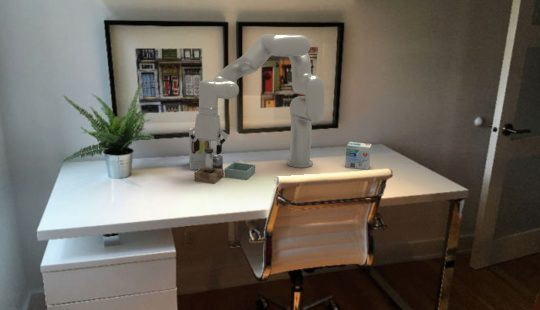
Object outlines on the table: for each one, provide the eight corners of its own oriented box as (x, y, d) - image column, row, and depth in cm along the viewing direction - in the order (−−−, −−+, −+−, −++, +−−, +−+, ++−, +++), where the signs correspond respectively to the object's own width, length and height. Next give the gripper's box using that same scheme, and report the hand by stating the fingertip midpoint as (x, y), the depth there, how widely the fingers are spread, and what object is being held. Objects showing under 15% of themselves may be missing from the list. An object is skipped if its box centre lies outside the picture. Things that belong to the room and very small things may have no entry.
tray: (233, 169, 211) (233, 162, 210) (255, 172, 208) (255, 164, 207) (224, 176, 202) (224, 168, 201) (247, 179, 199) (247, 171, 198)
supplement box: (189, 169, 209) (189, 132, 204) (189, 163, 218) (188, 127, 213) (211, 169, 211) (211, 132, 206) (210, 162, 220) (209, 127, 215)
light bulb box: (344, 167, 219) (346, 144, 216) (347, 163, 226) (348, 141, 222) (367, 170, 216) (369, 147, 213) (369, 166, 222) (371, 143, 219)
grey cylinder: (212, 169, 211) (212, 152, 208) (224, 171, 209) (224, 154, 207) (206, 173, 205) (206, 156, 203) (219, 175, 203) (219, 157, 201)
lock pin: (207, 177, 201) (206, 147, 197) (214, 178, 200) (214, 148, 196) (203, 179, 197) (203, 149, 194) (211, 180, 196) (211, 150, 193)
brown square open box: (204, 174, 204) (204, 166, 203) (223, 176, 201) (223, 169, 200) (194, 180, 196) (194, 172, 195) (214, 183, 193) (214, 175, 192)
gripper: (184, 110, 189) (184, 151, 194) (224, 115, 184) (223, 157, 189) (193, 107, 196) (193, 147, 201) (231, 112, 191) (230, 152, 196)
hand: (207, 152), depth 195 cm, fingers open, 9 cm apart
